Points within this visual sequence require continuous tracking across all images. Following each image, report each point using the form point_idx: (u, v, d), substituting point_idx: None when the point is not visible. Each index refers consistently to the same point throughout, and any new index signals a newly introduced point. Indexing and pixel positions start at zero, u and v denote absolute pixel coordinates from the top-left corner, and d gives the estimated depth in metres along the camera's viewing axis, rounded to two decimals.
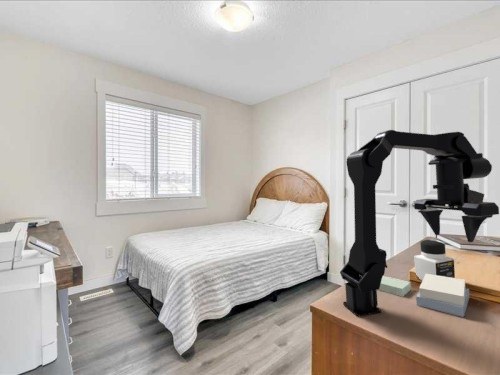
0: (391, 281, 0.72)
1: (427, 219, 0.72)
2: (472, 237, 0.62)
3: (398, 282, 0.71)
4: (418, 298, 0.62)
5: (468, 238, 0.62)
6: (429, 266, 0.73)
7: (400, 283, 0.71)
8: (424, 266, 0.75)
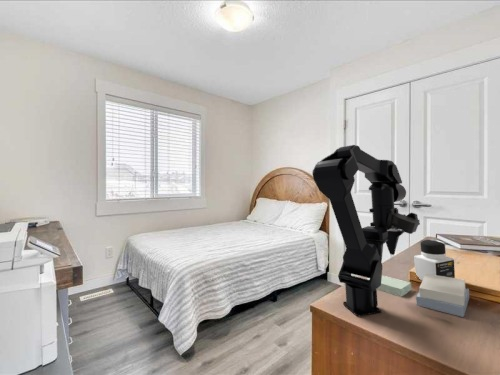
0: (391, 281, 0.72)
1: None
2: None
3: (398, 282, 0.71)
4: (418, 298, 0.62)
5: None
6: (429, 266, 0.73)
7: (399, 283, 0.71)
8: (424, 266, 0.75)
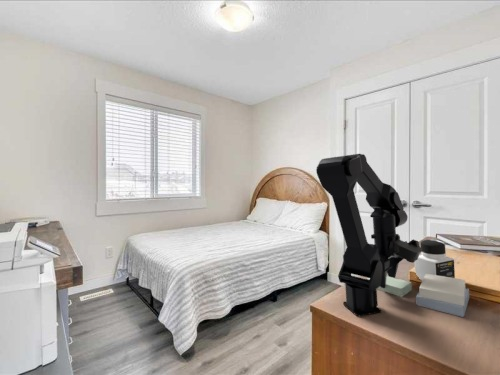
0: (392, 281, 0.72)
1: None
2: (381, 283, 0.71)
3: (398, 282, 0.71)
4: (418, 298, 0.62)
5: None
6: (429, 266, 0.73)
7: (400, 283, 0.70)
8: (424, 266, 0.75)
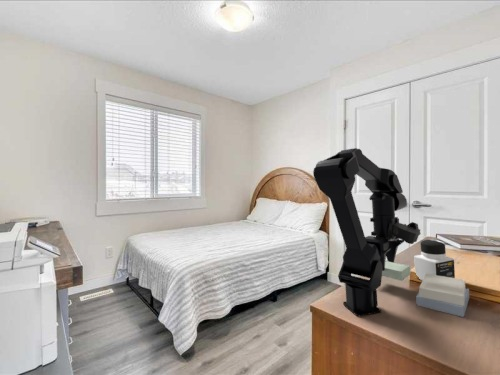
0: (391, 265, 0.72)
1: None
2: None
3: (397, 266, 0.71)
4: (418, 298, 0.62)
5: None
6: (429, 266, 0.73)
7: (399, 266, 0.71)
8: (424, 266, 0.75)
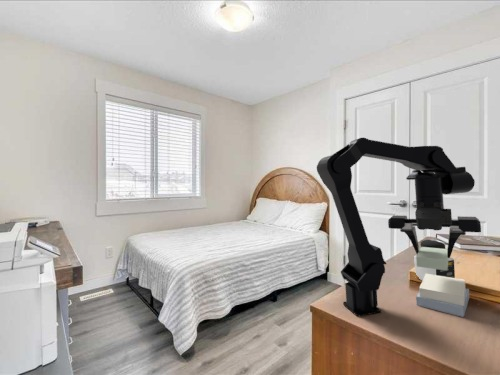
0: (432, 254, 0.64)
1: None
2: None
3: (435, 256, 0.62)
4: (418, 298, 0.62)
5: None
6: None
7: (433, 256, 0.62)
8: None
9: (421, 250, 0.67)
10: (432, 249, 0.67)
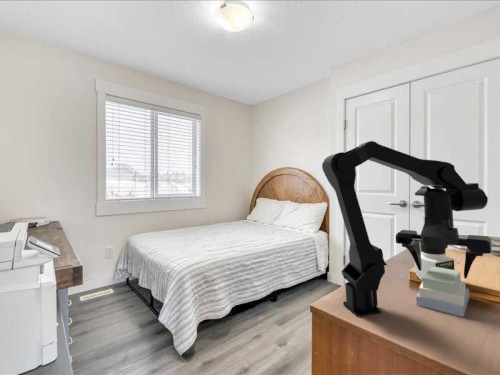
0: (441, 275, 0.62)
1: None
2: None
3: (442, 278, 0.61)
4: (418, 298, 0.62)
5: None
6: (429, 266, 0.73)
7: (440, 278, 0.61)
8: (424, 266, 0.75)
9: (430, 270, 0.66)
10: (443, 270, 0.66)
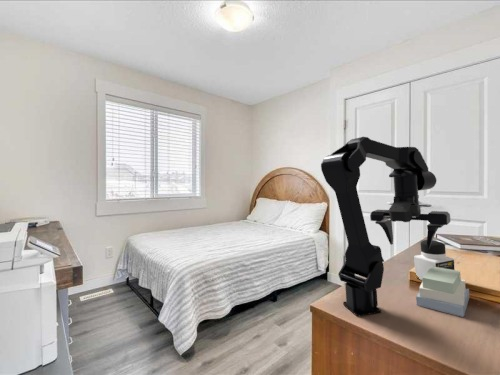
0: (441, 275, 0.62)
1: None
2: None
3: (442, 278, 0.61)
4: (418, 298, 0.62)
5: None
6: (429, 266, 0.73)
7: (440, 278, 0.61)
8: (424, 266, 0.75)
9: (430, 270, 0.66)
10: (443, 270, 0.66)
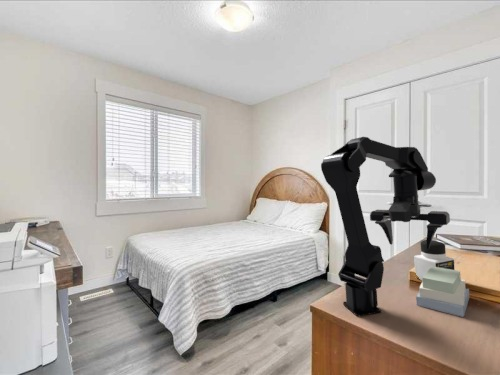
0: (441, 275, 0.62)
1: None
2: None
3: (442, 278, 0.61)
4: (418, 298, 0.62)
5: None
6: (429, 266, 0.73)
7: (440, 278, 0.61)
8: (424, 266, 0.75)
9: (430, 270, 0.66)
10: (443, 270, 0.66)
